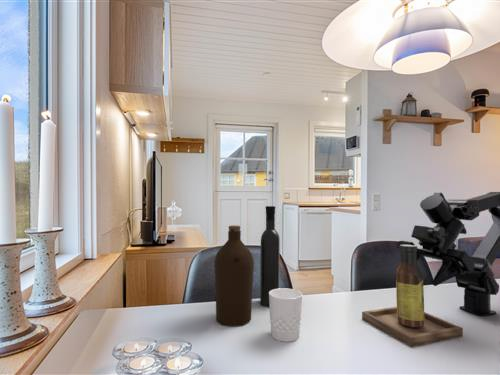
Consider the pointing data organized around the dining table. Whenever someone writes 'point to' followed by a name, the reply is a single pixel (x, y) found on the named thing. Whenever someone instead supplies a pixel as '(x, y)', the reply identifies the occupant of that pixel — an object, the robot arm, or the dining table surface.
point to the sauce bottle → (409, 289)
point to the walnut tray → (412, 337)
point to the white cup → (285, 314)
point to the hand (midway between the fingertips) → (416, 280)
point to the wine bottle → (269, 258)
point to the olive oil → (233, 281)
